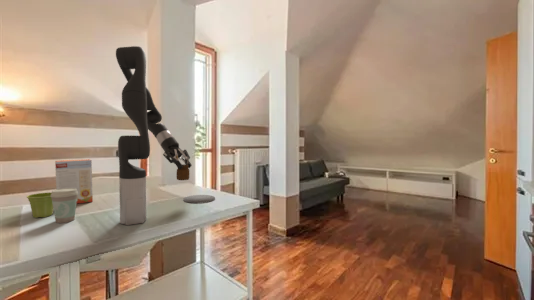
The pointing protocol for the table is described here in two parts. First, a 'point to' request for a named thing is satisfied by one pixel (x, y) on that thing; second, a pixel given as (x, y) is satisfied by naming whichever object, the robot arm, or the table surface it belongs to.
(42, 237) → the table surface
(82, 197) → the cracker box
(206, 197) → the charcoal mat
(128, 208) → the robot arm
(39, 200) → the plant pot
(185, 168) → the utensil holder
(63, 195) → the coffee cup
